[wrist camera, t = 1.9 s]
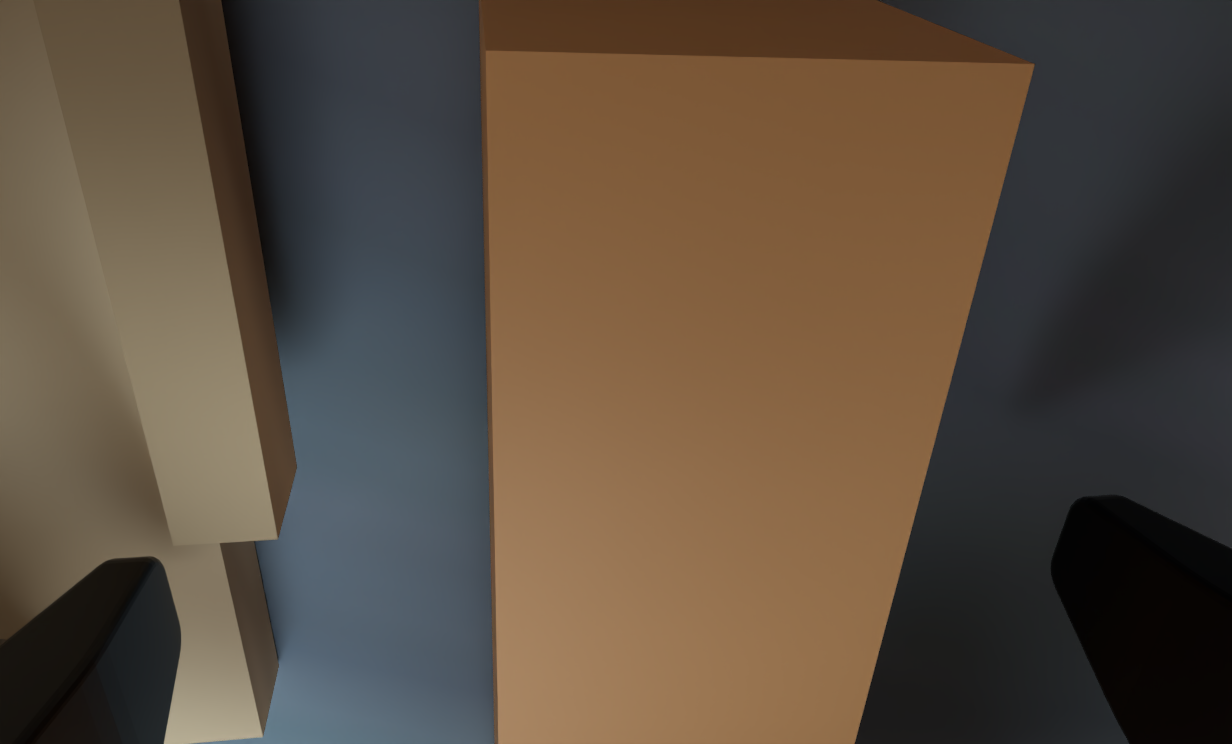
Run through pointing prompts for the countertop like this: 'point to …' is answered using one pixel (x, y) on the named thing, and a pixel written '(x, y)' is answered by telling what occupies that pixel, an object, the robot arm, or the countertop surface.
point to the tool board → (138, 337)
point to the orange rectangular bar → (719, 348)
